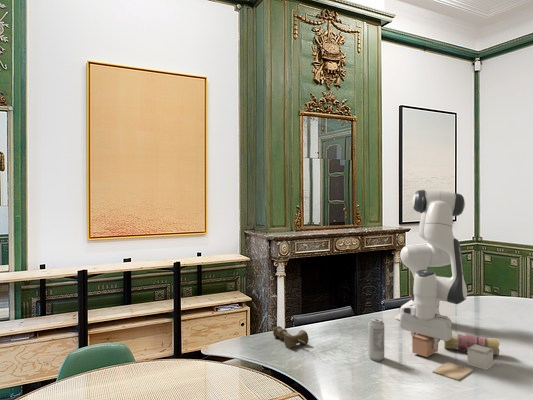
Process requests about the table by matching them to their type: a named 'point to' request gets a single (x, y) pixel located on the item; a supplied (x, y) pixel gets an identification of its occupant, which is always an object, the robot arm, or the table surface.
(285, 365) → the table surface
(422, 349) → the pink paneled box
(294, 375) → the table surface
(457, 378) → the cork pad
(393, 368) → the table surface
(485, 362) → the off-white bevelled cube
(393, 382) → the table surface
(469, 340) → the scroll
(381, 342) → the energy drink can
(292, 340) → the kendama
